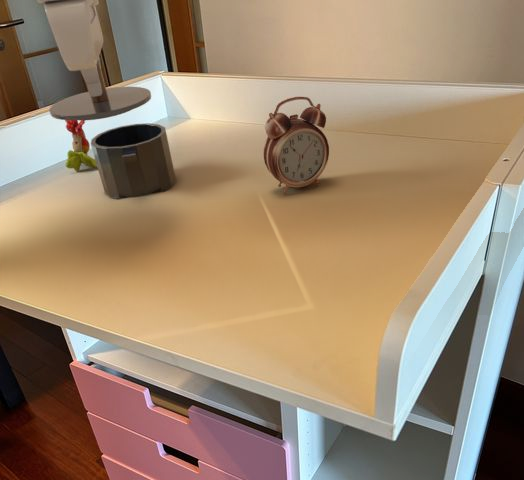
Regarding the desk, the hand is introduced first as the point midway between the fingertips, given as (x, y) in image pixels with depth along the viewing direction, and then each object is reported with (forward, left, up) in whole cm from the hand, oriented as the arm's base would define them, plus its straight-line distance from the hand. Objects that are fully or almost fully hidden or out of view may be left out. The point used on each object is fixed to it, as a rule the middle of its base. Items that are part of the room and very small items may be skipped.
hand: (97, 92), depth 80 cm
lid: (0, 0, -2) cm, 2 cm away
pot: (+1, +19, -21) cm, 28 cm away
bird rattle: (-11, +36, -21) cm, 43 cm away
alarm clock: (+29, +5, -21) cm, 36 cm away
